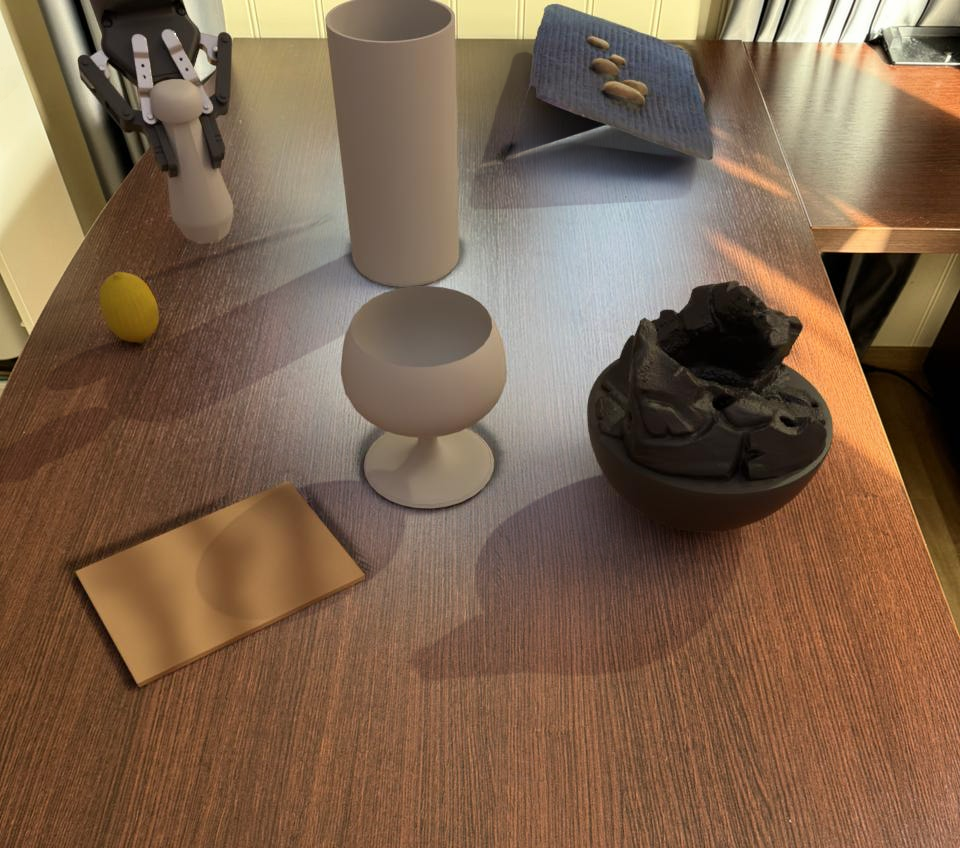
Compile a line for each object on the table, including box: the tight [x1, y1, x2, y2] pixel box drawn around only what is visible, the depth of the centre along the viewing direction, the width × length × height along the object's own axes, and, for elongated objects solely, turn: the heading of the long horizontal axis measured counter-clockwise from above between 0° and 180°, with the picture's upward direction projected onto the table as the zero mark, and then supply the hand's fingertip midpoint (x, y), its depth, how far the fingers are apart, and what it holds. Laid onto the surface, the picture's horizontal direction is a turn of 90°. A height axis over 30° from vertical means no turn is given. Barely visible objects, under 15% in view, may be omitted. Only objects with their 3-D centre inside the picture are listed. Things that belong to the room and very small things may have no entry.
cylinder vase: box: [324, 0, 460, 288], centre depth 99 cm, size 12×12×25 cm
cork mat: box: [75, 480, 366, 688], centre depth 78 cm, size 20×14×1 cm
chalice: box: [340, 285, 508, 509], centre depth 81 cm, size 14×14×15 cm
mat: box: [502, 3, 714, 162], centre depth 134 cm, size 45×27×12 cm, turn 176°
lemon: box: [98, 271, 160, 344], centre depth 96 cm, size 6×6×8 cm
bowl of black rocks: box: [586, 280, 834, 533], centre depth 77 cm, size 20×20×19 cm
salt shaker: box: [150, 79, 235, 245], centre depth 83 cm, size 6×6×13 cm
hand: (195, 168), depth 82 cm, fingers closed on salt shaker, 3 cm apart
